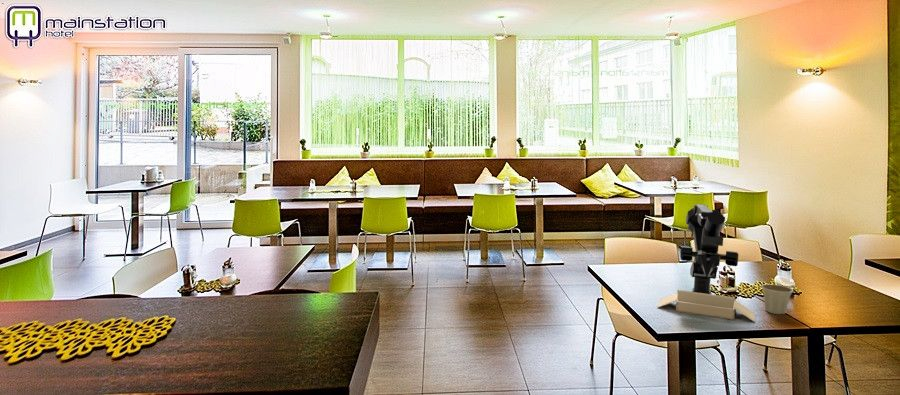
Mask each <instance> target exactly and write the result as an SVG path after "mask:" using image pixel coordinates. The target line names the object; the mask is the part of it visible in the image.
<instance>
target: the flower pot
mask: <svg viewBox="0 0 900 395" xmlns="http://www.w3.org/2000/svg"><path fill="white" fill-rule="evenodd" d="M761 288H762V291H763V299H764V300H763V301H764V310H765V311H766V312H768V313H770V314H774V315H785V314H786V312H787V309H788V305H789V301H790V297H791V295H792V294H793V292H794V289H792V288H791V287H788V286H785V285H784V286H783V285H779V284H762V285H761Z"/></svg>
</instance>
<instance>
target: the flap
mask: <svg viewBox="0 0 900 395" xmlns="http://www.w3.org/2000/svg"><path fill="white" fill-rule="evenodd" d="M676 293H678V301H680V302H687V303H694V304H701V305H708V306H715V307H722V308H729V309H733V307H734V300H735V297H733V296H727V295H726V296H725V295H718V294H704V293H697V292H692V291H689V290H688V291H687V290H679V289H677V292H676Z"/></svg>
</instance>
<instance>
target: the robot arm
mask: <svg viewBox="0 0 900 395" xmlns="http://www.w3.org/2000/svg"><path fill="white" fill-rule="evenodd" d="M725 221H726V216H725V215H724V214H723V213H721V212H719V209H712V210H711V209H710V208H709V206H708V204H707V205H706V204H694V205H693V208H690V210H688V211H687V213H686V216H685V224H686V225H687V229H688V230H689V231H690V232H692V234H693V235H692V236H693V243H694V247H691V246H681V247H680V251H679V252H680V260H681V261H684V262H685V261H686V262H690V261H692V260H693V261H692V263H691V266H690V269H689V273H690V274H689V275H690V277H691V278H694V280H693V281H694V282H693V288H692V289H691V290H692V291H691V292H697V293H704V294H711V293H712V289H711V279H714V280H715V279H717V273H718V270H719V266H720V261H724V263H725V265H726V266H727V267H729V266H730V267H737V266H738V264H739V263H738V262H739V253H738V252H737V251H732V250H731V251H730V250H726V251H725V254H724V253H719V247H723V245H724V236H721V234H720V232H721V231H722V229H723V226H724V224H725ZM693 248H694V249H695V250H694V249H693Z"/></svg>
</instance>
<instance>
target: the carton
mask: <svg viewBox="0 0 900 395" xmlns="http://www.w3.org/2000/svg"><path fill="white" fill-rule="evenodd" d="M675 302H676V303H675ZM671 303H675V311H676V312H680V313H686V314H687V313H688V314H693V315H700V316H708V317H713V318H719V319H725V320H726V319H727V320H732V321H733V320H735V311H737V312H738V313H740V314H741V315H743V316H745V318H748V319H749V320H751V321H752V322H754V323H755V322H756V319H755V318H756V317H755V312H754V311H752V310H751V309H749V308H748V307H747V306H745V305H743V304H742V303H741V302H739V301H738V300H736V299H734V307H733V309H729V308H722V307H715V306H708V305H701V304H694V303H687V302H680V301H678V293H677V292H676V293H673V294H670V295H668V296H666V297H665V296H664V297H662V298H660V300H659V302H658V304H657V309H658V308H662V307H664V306H667V305H669V304H671Z"/></svg>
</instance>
